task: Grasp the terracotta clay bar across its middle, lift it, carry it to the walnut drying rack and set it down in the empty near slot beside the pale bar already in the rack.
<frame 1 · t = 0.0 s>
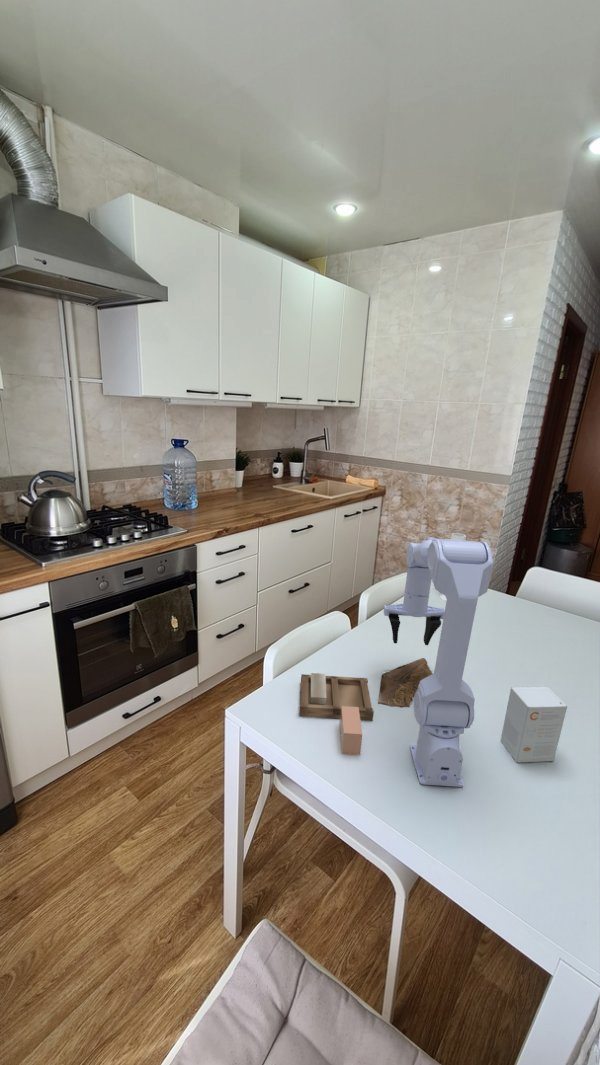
hand: (410, 642, 111), 10 cm above the table, fingers open, 7 cm apart
rack: (334, 701, 103), on the table
small box: (525, 751, 91), on the table
clay bar: (349, 740, 92), on the table
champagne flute: (448, 598, 163), on the table
wooden fragment: (406, 682, 113), on the table
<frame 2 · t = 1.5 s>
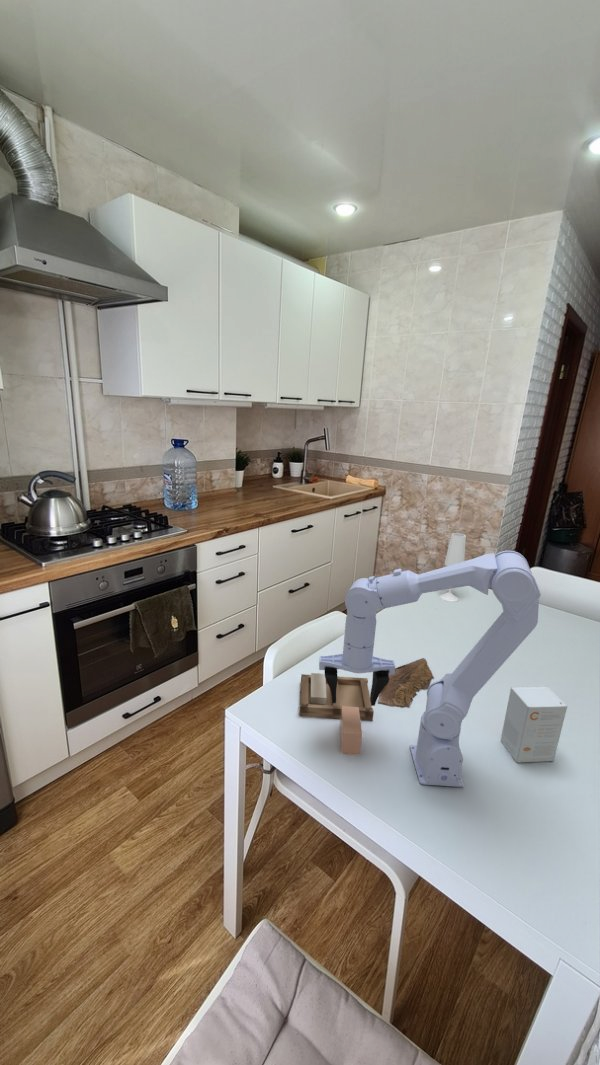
hand: (353, 701, 89), 9 cm above the table, fingers open, 7 cm apart
nothing on the table moved.
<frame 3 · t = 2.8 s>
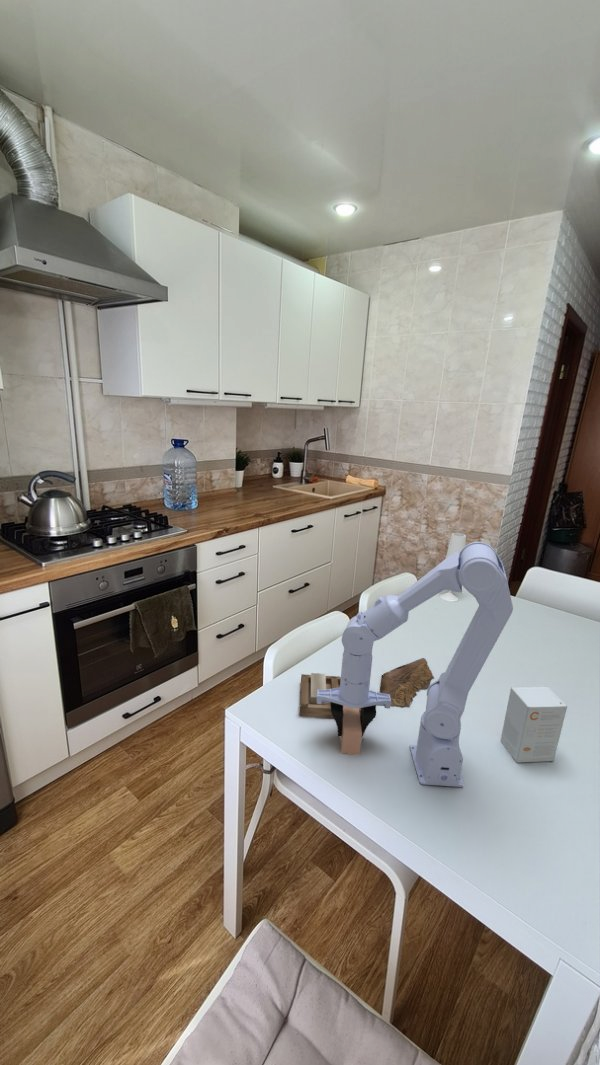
hand: (350, 733, 91), 1 cm above the table, fingers closed on clay bar, 4 cm apart
clay bar: (349, 739, 92), on the table, touching gripper
everything else where it was.
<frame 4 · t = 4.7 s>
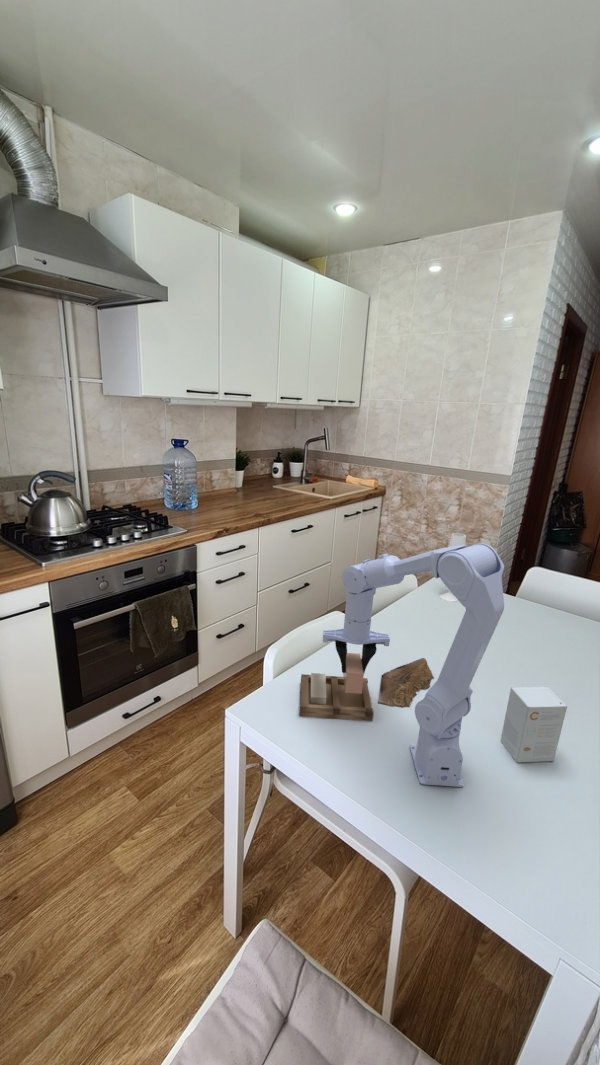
hand: (352, 670, 101), 8 cm above the table, fingers closed on clay bar, 4 cm apart
clay bar: (351, 682, 101), point 6 cm above the table, touching gripper
everything else where it was.
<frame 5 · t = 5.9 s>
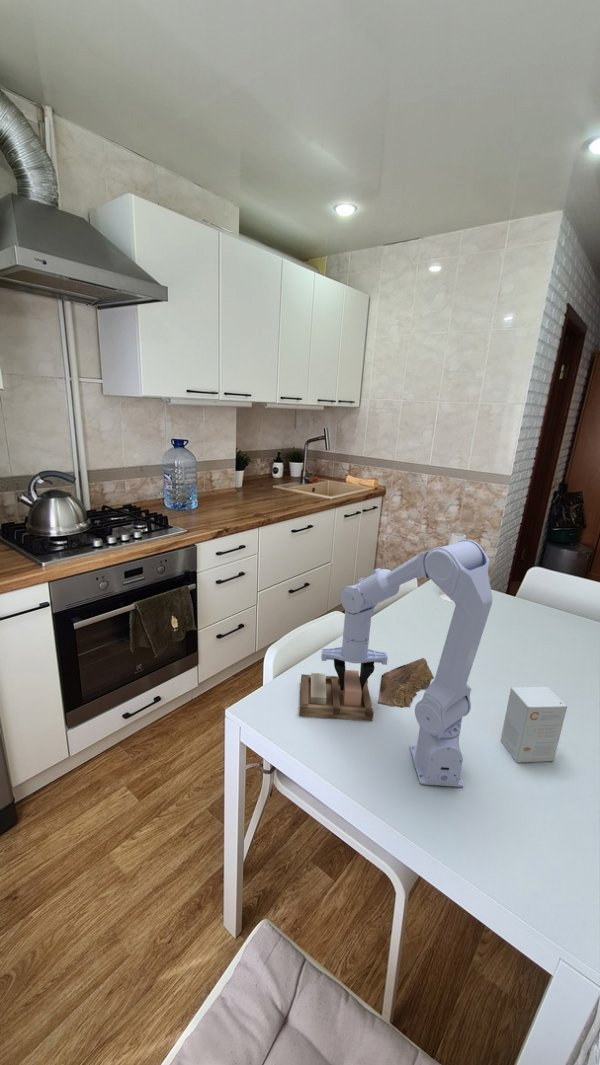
hand: (351, 688, 102), 4 cm above the table, fingers closed on clay bar, 4 cm apart
clay bar: (350, 699, 103), point 1 cm above the table, touching gripper, rack
everything else where it was.
when the fingers open (4 cm above the table, at t = 6.3 s): clay bar stays where it is, resting on rack.
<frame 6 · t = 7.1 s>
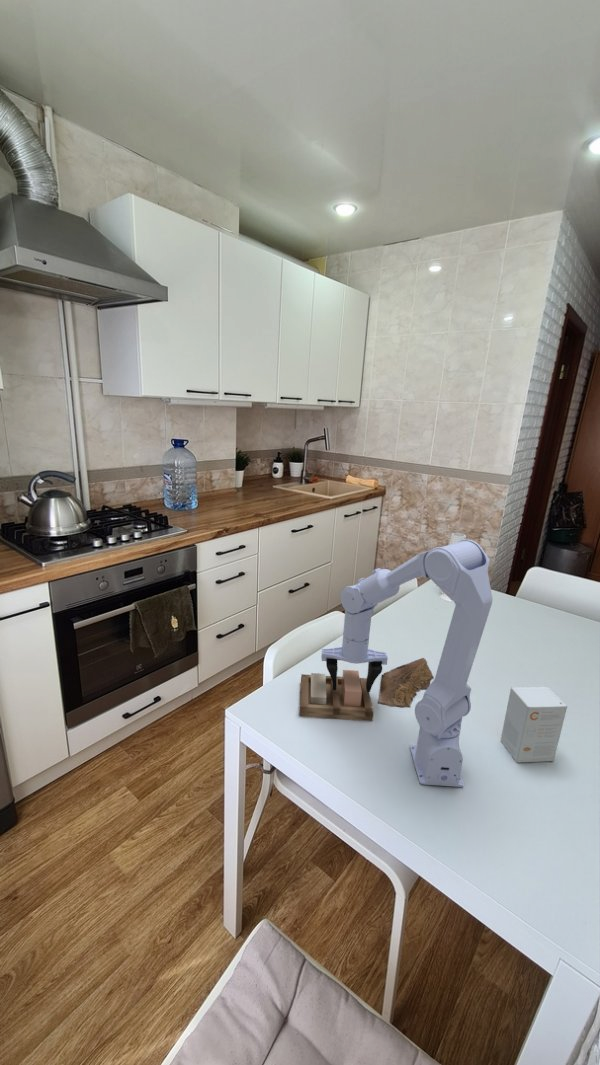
hand: (351, 688, 102), 4 cm above the table, fingers open, 7 cm apart
clay bar: (350, 699, 103), point 1 cm above the table, touching rack
everything else where it was.
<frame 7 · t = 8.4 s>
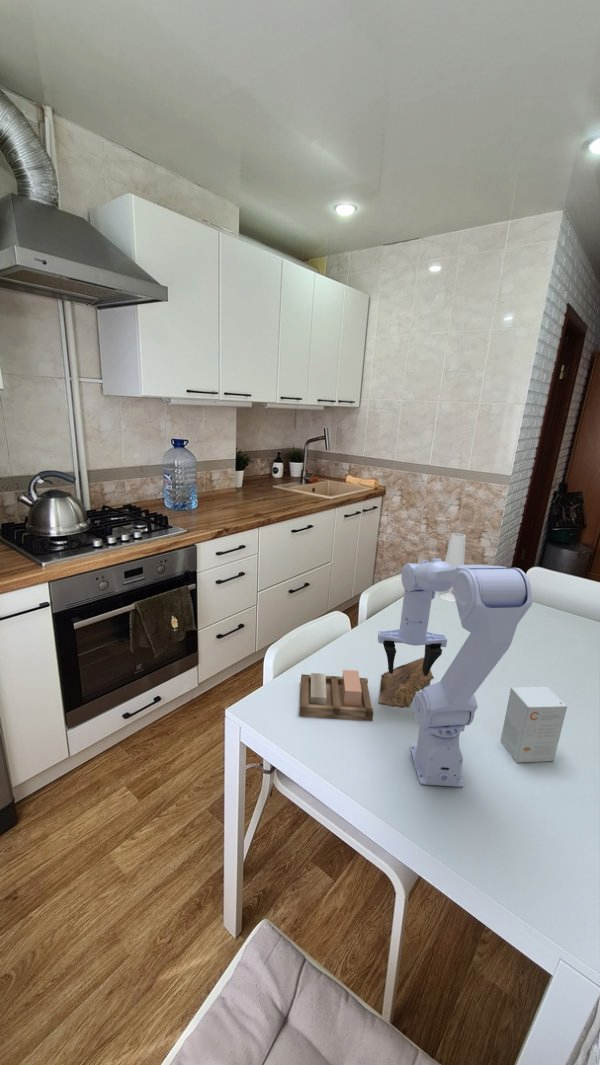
hand: (407, 672, 99), 9 cm above the table, fingers open, 7 cm apart
nothing on the table moved.
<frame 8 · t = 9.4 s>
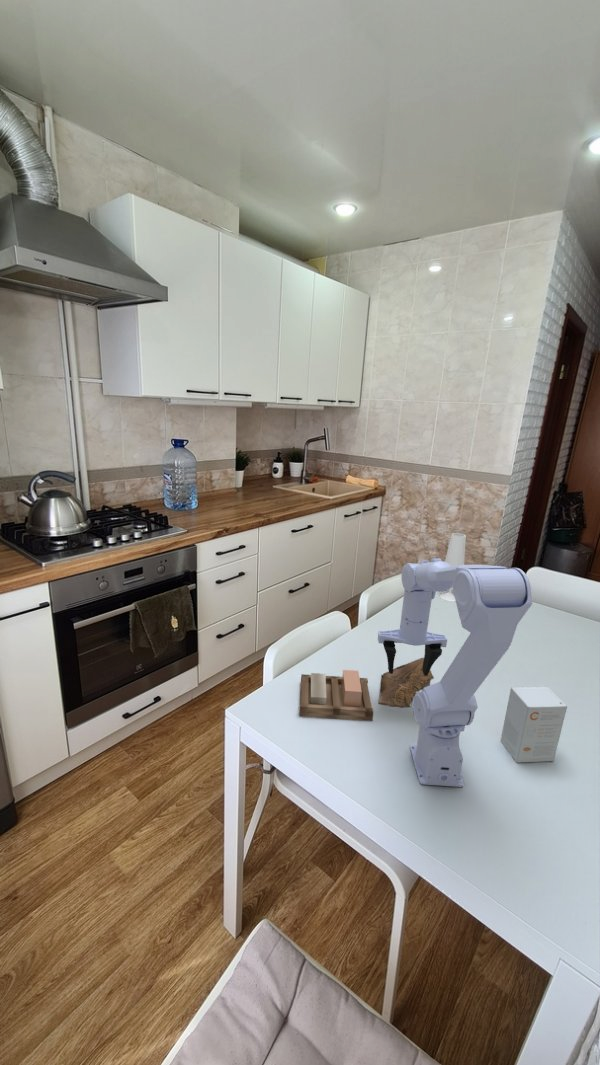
hand: (407, 672, 99), 9 cm above the table, fingers open, 7 cm apart
nothing on the table moved.
at the end: clay bar 0.4 cm from the target spot on the rack, point 1.0 cm above the rack's base; clay bar tilted 0°; the gripper is holding nothing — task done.
